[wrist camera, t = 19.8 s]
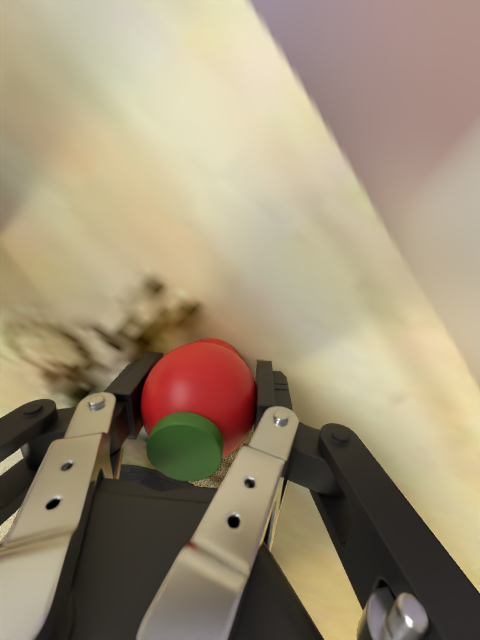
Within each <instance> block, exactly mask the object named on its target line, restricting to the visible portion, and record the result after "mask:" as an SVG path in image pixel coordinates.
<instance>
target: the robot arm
mask: <svg viewBox="0 0 480 640" xmlns="http://www.w3.org/2000/svg"><path fill="white" fill-rule="evenodd" d="M162 357H164V355H163V353H158V352H147V353H146V354H145V355H144V356H143V358H142V359H141V360H140V361H139V360H136V361H134V362H133V363H131V364H129V365H127V367H126V368H125V369H124V370H123V371H122V372H121V373H120V374H119V375H118V377H117V378H116V379H115V380H114V381H113V382H112V383H111V384H110V385H109V386H108V387H107V389H106V390H105V391H104V392H101V393H95V394H92V395H90V396H87V397H86V398H84V399H83V400H81V401H80V402H79V404H78V405H77V407H73V408H65V409H58V410H57V408H56V404H55V402H54V401H53V400H50V399H40V400H35V401H32V402H29V403H26V404H24V405H22V406H20V407H19V408H17V409H15V410H14V411H12V412H10V413H8V414H7V415H5V416H3V417H2V418H0V462H2V461H3V460H4V459H6V458H7V457H8V456H10V455H11V454H13V453H14V452H15V451H17V450H18V449H19V448H20V449H21V452H22V455H23V459H22V460H20V461H19V462H18V463H17V464H15V465H14V466H13V467H11V468H10V469H9V470H7V471H6V472H5V473H3V474H2V475H1V476H0V526H1V525H2V524H3V523H4V522H5V521H6V520H7V519H8V518H9V517H10V516H11V515H12V514H14V513H15V512H16V511H17V510H18V509H19V508H20V509H19V511H18V513H17V515H16V517H15V519H14V521H13V524H12V526H11V528H10V530H9V532H8V534H7V536H6V538H5V540H4V542H2V543H1V544H0V640H324V638H323V637H322V635H321V633H320V632H319V630H318V629H317V627H316V625H315V624H314V622H313V620H312V619H311V617H310V615H309V614H308V612H307V611H306V609H305V607H304V606H303V604H302V602H301V601H300V599H299V598H298V596H297V594H296V593H295V591H294V589H293V588H292V586H291V584H290V583H289V581H288V580H287V578H286V576H285V575H284V573H283V571H282V570H281V568H280V566H279V565H278V563H277V562H276V560H275V558H274V557H273V555H272V553H271V552H270V551H271V548H272V544H273V540H274V535H275V531H276V526H277V522H278V517H279V514H280V510H281V506H282V503H283V499H284V495H285V492H286V488H287V484H288V481H292V482H294V483H296V484H299V485H301V486H304V487H306V488H309V489H310V492H311V495H312V497H313V499H314V502H315V504H316V506H317V508H318V511H319V513H320V515H321V517H322V520H323V522H324V524H325V526H326V529H327V531H328V533H329V535H330V538H331V540H332V542H333V544H334V547H335V549H336V551H337V553H338V556H339V558H340V560H341V562H342V565H343V567H344V569H345V571H346V574H347V576H348V578H349V580H350V583H351V585H352V587H353V589H354V592H355V594H356V596H357V598H358V601H359V603H360V605H361V607H362V610H363V613H362V616H361V618H360V621H359V623H358V627H357V640H480V593H479V592H478V591H477V589H476V588H475V587H474V585H473V584H472V583H471V582H470V580H469V579H468V578H467V576H466V575H465V574H464V573H463V571H462V570H461V569H460V567H459V566H458V565H457V564H456V562H455V561H454V560H453V558H452V557H451V556H450V555H449V553H448V552H447V551H446V549H445V548H444V547H443V546H442V544H441V543H440V542H439V540H438V539H437V538H436V537H435V535H434V534H433V533H432V531H431V530H430V529H429V528H428V526H427V525H426V524H425V522H424V521H423V520H422V519H421V517H420V516H419V515H418V513H417V512H416V511H415V510H414V508H413V507H412V506H411V504H410V503H409V502H408V501H407V499H406V498H405V497H404V495H403V494H402V493H401V492H400V490H399V489H398V488H397V486H396V485H395V484H394V483H393V481H392V480H391V479H390V477H389V476H388V475H387V473H386V472H385V471H384V470H383V468H382V467H381V466H380V464H379V463H378V462H377V461H376V459H375V458H374V457H373V455H372V454H371V453H370V452H369V450H368V449H367V448H366V446H365V445H364V444H363V443H362V441H361V440H360V439H359V437H358V436H357V435H356V434H355V433H354V432H353V431H352V430H350V429H349V428H347V427H345V426H343V425H340V424H334V423H330V424H326V425H324V426H323V427H322V428H321V430H317V429H314V428H311V427H309V426H306V425H304V424H303V423H301V422H300V421H299V419H298V417H297V415H296V414H295V413H294V412H293V409H292V404H291V399H290V393H289V388H288V383H287V378H286V376H285V375H284V374H283V373H282V372H281V371H272V362H271V361H264V360H257V368H256V380H255V383H256V387H257V401H256V416H255V421H254V434H253V435H252V437H251V439H250V441H249V443H248V445H246V444H243V445H242V446H241V447H240V449H239V451H238V453H237V455H236V457H235V458H234V460H233V462H232V464H231V466H230V468H229V470H228V472H227V473H226V475H225V477H224V479H223V481H222V483H221V485H220V486H219V488H207V487H196V486H192V487H185V488H179V489H173V490H166V491H158V490H155V489H153V488H150V487H148V486H145V485H143V484H140V483H138V482H135V481H132V480H122V479H119V475H120V469H121V462H122V456H123V442H124V441H125V439H126V438H127V439H136V438H137V436H138V434H139V432H140V431H141V429H142V427H143V422H142V417H141V407H140V403H141V395H142V390H143V387H144V384H145V381H146V379H147V377H148V375H149V373H150V372H151V370H152V369H153V367H154V366H155V365H156V364H157V362H158V361H159V360H160V359H161V358H162Z"/></svg>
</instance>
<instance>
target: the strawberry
mask: <svg viewBox="0 0 480 640" xmlns="http://www.w3.org/2000/svg"><path fill="white" fill-rule="evenodd" d="M256 401H257V387H256V383H255V380H254V377H253V375H252V373H251V371H250V369H249V368H248V366H247V365H246V363H245V362H244V361H243V360H242V359H241V358H240V357H239V355H238V353H237V352H236V351H235V349H234V348H233V347H232V346H230V345H229V344H228V343H226V342H224V341H221V340H218V339H202V340H199V341H197V342H195V343H191V344H186V345H183V346H181V347H178V348H176V349H174V350H172V351H171V352H169V353H168V354H166V355H165V356H164V357H162V358H161V359H160V360H159V361H158V362H157V364H156V365H155V366H154V367H153V369H152V370H151V372H150V373H149V375H148V377H147V379H146V381H145V384H144V387H143V390H142V395H141V403H140V407H141V417H142V422H143V425H144V428H145V431H146V433H147V435H148V436H149V438H148V441H147V445H146V447H147V455H148V458H149V460H150V462H151V463H152V465H153V466H154V467H155V468H156V469H157V470H158V471H160V472H161V473H163V474H164V475H166V476H168V477H170V478H173V479H176V480H181V481H198V480H202V479H205V478H207V477H209V476H211V475H212V474H214V473H215V472H216V471H217V469H218V468H219V467H220V465H221V462H222V458H224V457H225V456H227V455H229V454H230V453H232V452H233V451H234V450H235V449H237V448H238V447H239V446H240V445H241V444H242V442H243V441H244V440H245V439H246V437H247V436H248V434H249V432H250V430H251V428H252V427H253V424H254V421H255V416H256Z"/></svg>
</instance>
